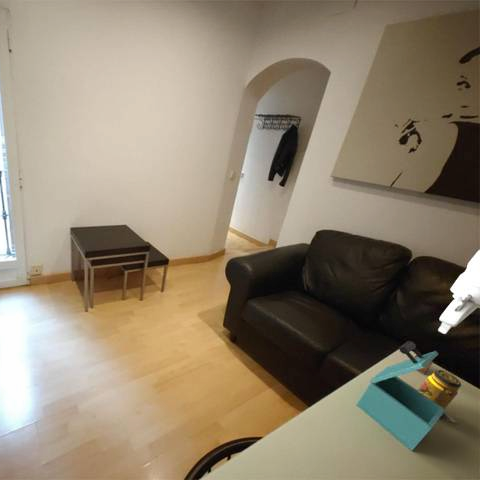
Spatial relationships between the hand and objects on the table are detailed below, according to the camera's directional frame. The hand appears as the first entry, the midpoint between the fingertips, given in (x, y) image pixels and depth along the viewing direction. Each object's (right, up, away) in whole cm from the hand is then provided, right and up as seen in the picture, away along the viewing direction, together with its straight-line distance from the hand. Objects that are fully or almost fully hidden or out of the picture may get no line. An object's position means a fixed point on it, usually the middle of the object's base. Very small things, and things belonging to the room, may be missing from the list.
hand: (446, 328), depth 84 cm
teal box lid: (-29, -5, -16) cm, 33 cm away
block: (-3, -16, +7) cm, 18 cm away
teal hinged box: (-29, -20, -13) cm, 38 cm away
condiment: (-14, -21, -8) cm, 26 cm away
